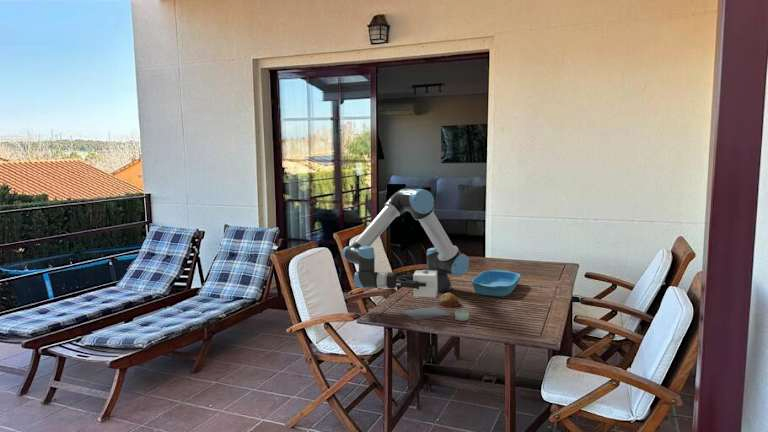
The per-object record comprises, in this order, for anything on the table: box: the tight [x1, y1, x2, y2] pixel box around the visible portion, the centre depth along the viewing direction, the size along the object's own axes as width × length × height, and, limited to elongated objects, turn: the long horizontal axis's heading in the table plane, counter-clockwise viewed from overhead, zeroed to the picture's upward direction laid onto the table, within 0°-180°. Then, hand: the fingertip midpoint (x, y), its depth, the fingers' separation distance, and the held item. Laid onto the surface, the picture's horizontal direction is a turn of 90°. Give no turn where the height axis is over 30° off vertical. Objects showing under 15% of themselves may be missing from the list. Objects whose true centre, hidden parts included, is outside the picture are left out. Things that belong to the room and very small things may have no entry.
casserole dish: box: [471, 269, 521, 297], centre depth 279 cm, size 37×22×7 cm, turn 154°
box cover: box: [412, 269, 438, 298], centre depth 235 cm, size 10×10×11 cm
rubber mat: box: [402, 306, 451, 321], centre depth 236 cm, size 18×14×1 cm
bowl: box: [454, 308, 470, 322], centre depth 227 cm, size 6×6×4 cm
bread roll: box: [438, 292, 461, 308], centre depth 250 cm, size 10×10×8 cm
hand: (434, 281), depth 234 cm, fingers closed on box cover, 10 cm apart
